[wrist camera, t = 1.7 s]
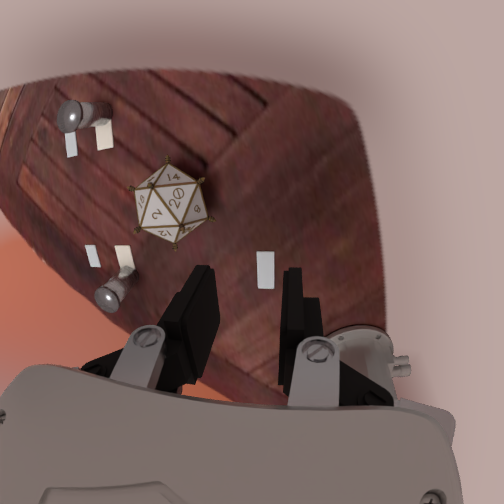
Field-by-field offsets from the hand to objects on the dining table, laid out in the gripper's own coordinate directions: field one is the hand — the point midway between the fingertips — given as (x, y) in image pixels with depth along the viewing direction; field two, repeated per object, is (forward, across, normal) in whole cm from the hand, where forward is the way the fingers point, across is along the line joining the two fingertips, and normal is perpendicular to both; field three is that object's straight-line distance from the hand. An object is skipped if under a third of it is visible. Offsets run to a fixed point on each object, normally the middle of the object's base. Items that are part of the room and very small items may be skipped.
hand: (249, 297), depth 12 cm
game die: (+19, +10, 0) cm, 22 cm away
